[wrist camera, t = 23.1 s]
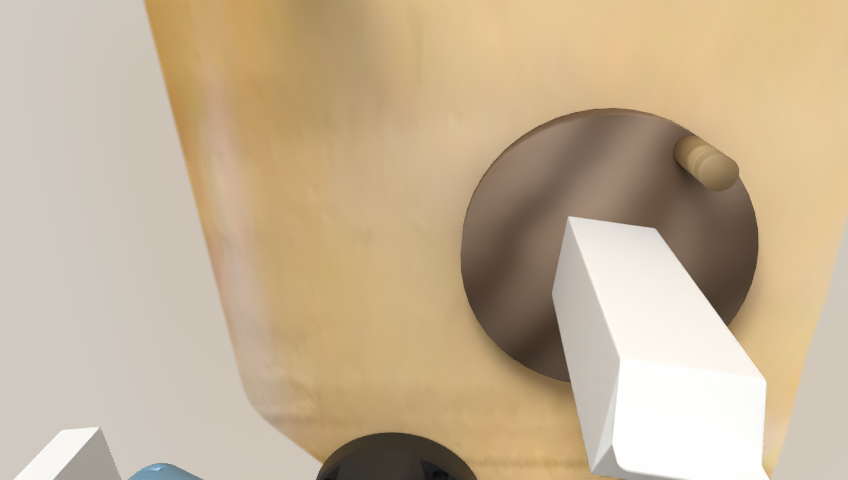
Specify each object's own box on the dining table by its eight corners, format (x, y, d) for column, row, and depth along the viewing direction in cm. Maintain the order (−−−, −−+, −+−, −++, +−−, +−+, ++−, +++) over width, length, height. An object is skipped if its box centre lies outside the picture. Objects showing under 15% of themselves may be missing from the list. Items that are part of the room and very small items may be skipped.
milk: (567, 215, 44) (635, 398, 24) (657, 227, 44) (804, 425, 24) (550, 295, 47) (599, 529, 26) (636, 308, 46) (754, 554, 26)
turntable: (412, 284, 50) (398, 340, 42) (563, 51, 43) (580, 63, 35) (629, 408, 52) (655, 484, 44) (805, 204, 45) (875, 249, 37)
